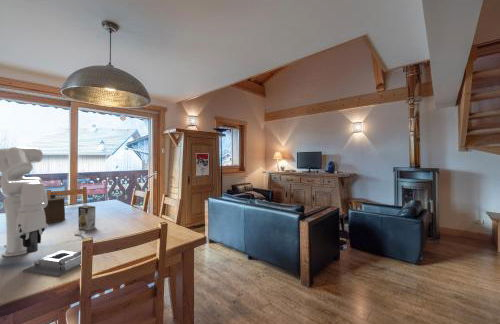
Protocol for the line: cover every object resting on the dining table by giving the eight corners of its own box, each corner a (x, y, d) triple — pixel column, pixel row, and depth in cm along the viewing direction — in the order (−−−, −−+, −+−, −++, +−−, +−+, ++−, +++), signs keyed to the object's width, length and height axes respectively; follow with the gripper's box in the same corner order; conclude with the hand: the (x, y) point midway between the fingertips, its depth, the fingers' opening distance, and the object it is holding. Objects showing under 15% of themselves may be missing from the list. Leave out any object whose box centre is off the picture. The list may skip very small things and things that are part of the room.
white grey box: (37, 268, 105) (37, 257, 105) (62, 257, 116) (61, 247, 116) (64, 271, 102) (64, 260, 102) (86, 260, 113) (86, 250, 113)
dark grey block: (24, 252, 109) (24, 232, 109) (33, 248, 113) (33, 229, 113) (30, 253, 108) (30, 233, 108) (39, 250, 112) (39, 230, 112)
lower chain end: (32, 267, 106) (32, 260, 106) (57, 257, 116) (57, 251, 116) (58, 271, 103) (58, 264, 103) (81, 260, 113) (81, 253, 113)
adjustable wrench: (94, 242, 141) (94, 239, 141) (81, 245, 137) (81, 242, 137) (84, 232, 158) (84, 229, 158) (73, 234, 154) (73, 232, 154)
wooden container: (52, 218, 192) (51, 192, 192) (69, 218, 192) (69, 192, 192) (35, 223, 177) (35, 195, 177) (54, 223, 177) (54, 195, 177)
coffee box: (78, 229, 164) (77, 206, 164) (86, 226, 171) (86, 205, 170) (87, 230, 162) (87, 207, 161) (95, 227, 168) (95, 206, 167)
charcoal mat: (23, 271, 104) (23, 269, 104) (59, 256, 119) (59, 254, 119) (58, 276, 100) (58, 274, 100) (90, 260, 115) (90, 258, 115)
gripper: (44, 203, 119) (44, 237, 119) (4, 211, 102) (4, 251, 103) (56, 204, 117) (56, 239, 118) (17, 213, 101) (17, 253, 102)
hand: (32, 244), depth 111 cm, fingers closed on dark grey block, 4 cm apart
